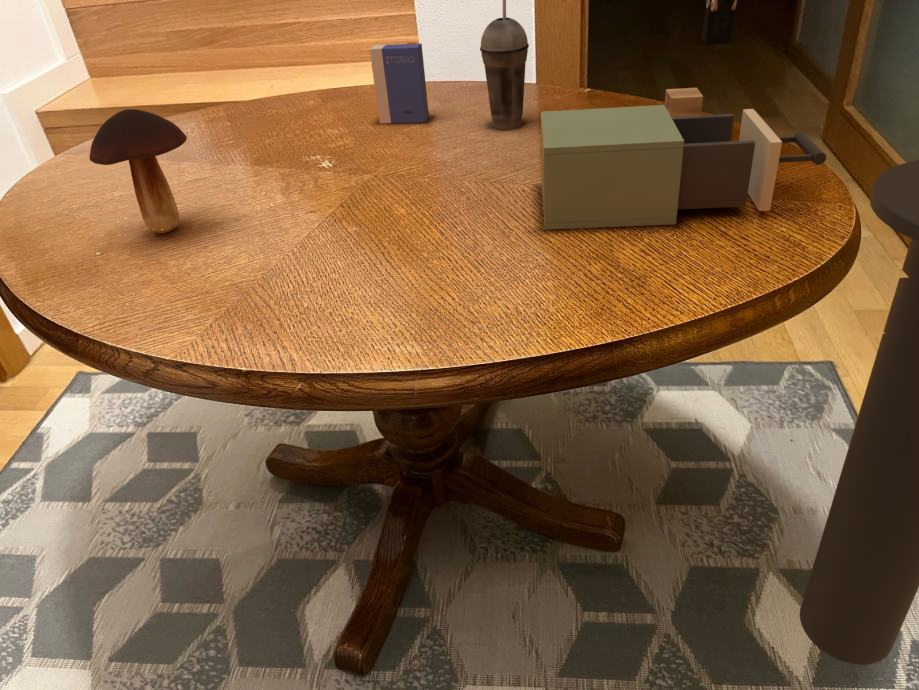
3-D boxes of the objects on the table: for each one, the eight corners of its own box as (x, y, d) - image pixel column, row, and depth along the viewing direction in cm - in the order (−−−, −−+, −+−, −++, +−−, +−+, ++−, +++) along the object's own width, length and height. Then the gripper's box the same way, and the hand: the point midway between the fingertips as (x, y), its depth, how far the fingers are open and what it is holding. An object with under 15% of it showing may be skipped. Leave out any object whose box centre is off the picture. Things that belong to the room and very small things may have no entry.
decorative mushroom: (106, 253, 87) (57, 128, 79) (141, 214, 96) (101, 99, 88) (195, 248, 86) (156, 121, 78) (222, 209, 95) (190, 92, 87)
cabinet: (658, 181, 92) (664, 104, 87) (676, 224, 82) (684, 140, 76) (541, 186, 93) (540, 111, 88) (544, 230, 83) (543, 147, 78)
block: (663, 119, 111) (665, 89, 109) (693, 117, 111) (696, 87, 108) (668, 129, 107) (671, 98, 105) (699, 127, 107) (703, 96, 104)
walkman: (429, 117, 121) (421, 40, 114) (425, 122, 119) (417, 45, 112) (383, 118, 123) (373, 42, 116) (379, 123, 120) (368, 46, 114)
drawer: (792, 170, 89) (804, 105, 85) (824, 208, 80) (839, 138, 76) (632, 177, 91) (636, 115, 87) (645, 216, 82) (650, 148, 78)
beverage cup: (478, 131, 113) (469, -11, 102) (491, 116, 119) (484, -20, 108) (524, 132, 111) (520, -12, 100) (535, 117, 117) (533, -21, 105)
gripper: (793, -126, 77) (763, 56, 88) (753, -132, 89) (730, 28, 100) (720, -121, 77) (699, 59, 88) (690, -128, 90) (674, 31, 100)
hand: (715, 42), depth 94 cm, fingers closed
